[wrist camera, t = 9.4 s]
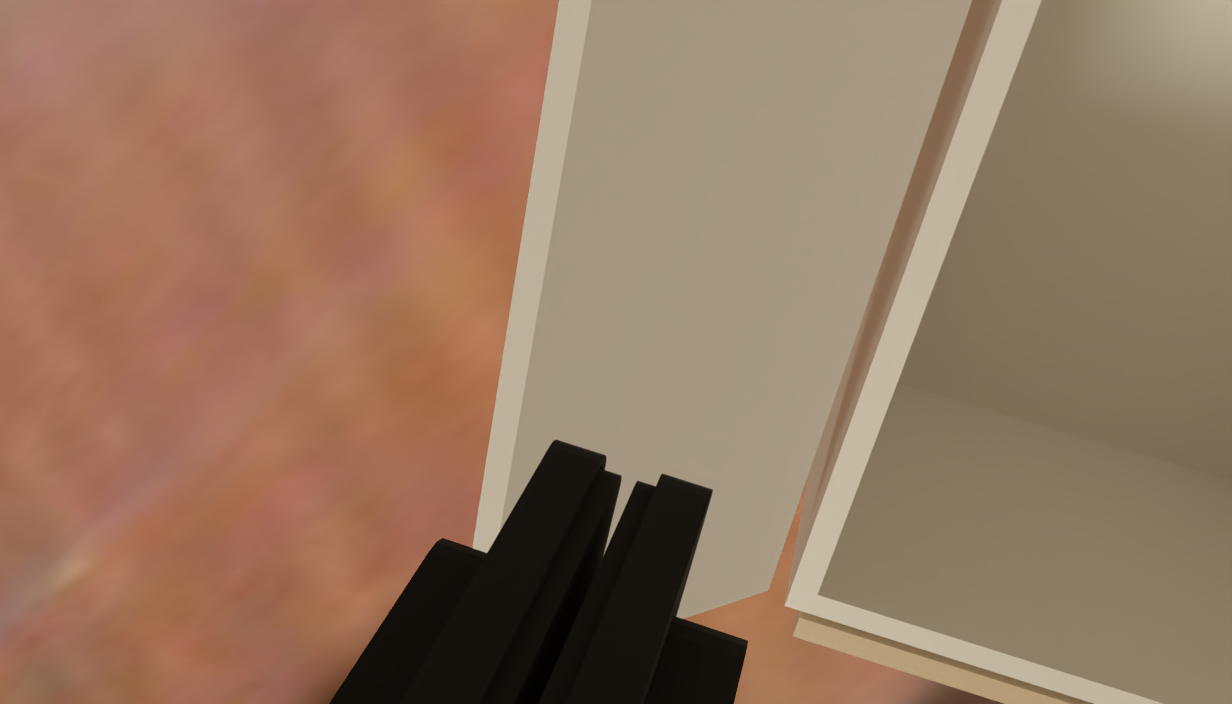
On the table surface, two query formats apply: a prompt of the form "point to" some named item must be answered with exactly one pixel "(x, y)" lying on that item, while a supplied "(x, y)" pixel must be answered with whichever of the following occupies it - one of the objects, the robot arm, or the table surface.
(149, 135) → the table surface
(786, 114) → the carton flap
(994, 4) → the carton
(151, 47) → the table surface
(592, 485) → the robot arm
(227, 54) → the table surface
